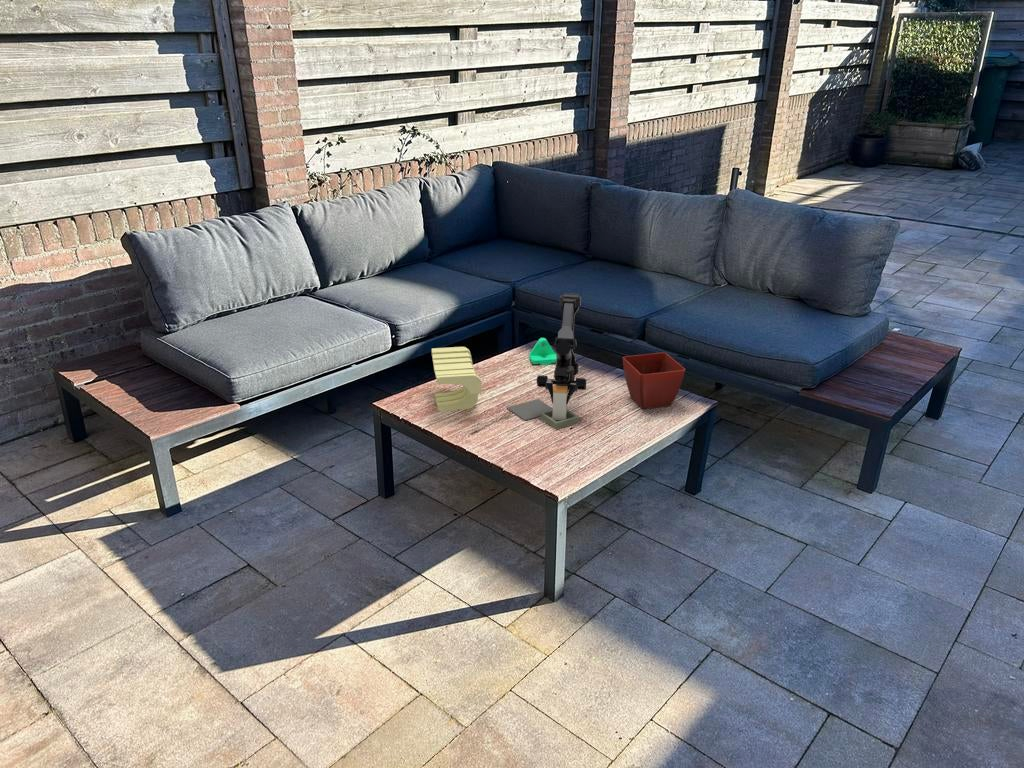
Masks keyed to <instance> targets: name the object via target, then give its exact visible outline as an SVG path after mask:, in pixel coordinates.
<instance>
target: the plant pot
mask: <svg viewBox="0 0 1024 768" xmlns="http://www.w3.org/2000/svg"><path fill="white" fill-rule="evenodd" d="M622 367H623V372H624V373H623V374H624V378H625V382H626V386H627V389H628V393H629V397H630V398H631V399H632V400H633V401H634V402H635V403H636V404H637V406H639V407H640V408H641V409H642V410H646V409H655V408H664V407H671V406H672V404H673V403H674V400H675V399H676V397H677V395H678V392H679V390H680V388H681V385H682V383H683V380H684V376H685V373H686V368H685V367H683V366H682V365H681V364H680V363H679V362H677V360H675V359H674V358H673V357H671V356H670V355H669V354H668V352H667V353H666V352H654V353H646V354H645V353H643V354H636V355H626V356H623V357H622Z"/></svg>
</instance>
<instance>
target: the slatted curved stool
mask: <svg viewBox="0 0 1024 768" xmlns="http://www.w3.org/2000/svg"><path fill="white" fill-rule="evenodd" d="M431 357H432V364H433V371H434V375H435V379H436V383H437V384H438V385H458V386H462V387H461V388H459V389H457V390H455V391H454V390H453V391H448V392H441V393H440V392H439V393H434V400H435V403H436V404H435V405H436V409H437V411H439V412H441V411H443V412H444V411H455V410H468V409H472V408H475V406H476V405H477V403H478V400H479V394H482V380H481V378H480V377H479V375H477V374H476V370H475V368H474V363H473V358H472V354H471V351H470V349H469V348H467V347H466V346H453V347H435V348H431Z"/></svg>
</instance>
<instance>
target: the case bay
mask: <svg viewBox="0 0 1024 768" xmlns="http://www.w3.org/2000/svg"><path fill="white" fill-rule="evenodd" d="M552 416H553V409H552V410H549V411H545V412H541V413H540V417H539V419H540V420H541V421H543V422H545V424H547V425H549V426H550V427H552V428H553V429H555V430H558V429H559V430H560V429H562V427H563V428H565V427H569V426H572V424H573V425H576V424H578V423H579V422H580V416H579V415H577V414H576V413H574V412H572V411H570V410H568V409H567V414H566V419H565V420H553V419H552Z"/></svg>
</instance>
